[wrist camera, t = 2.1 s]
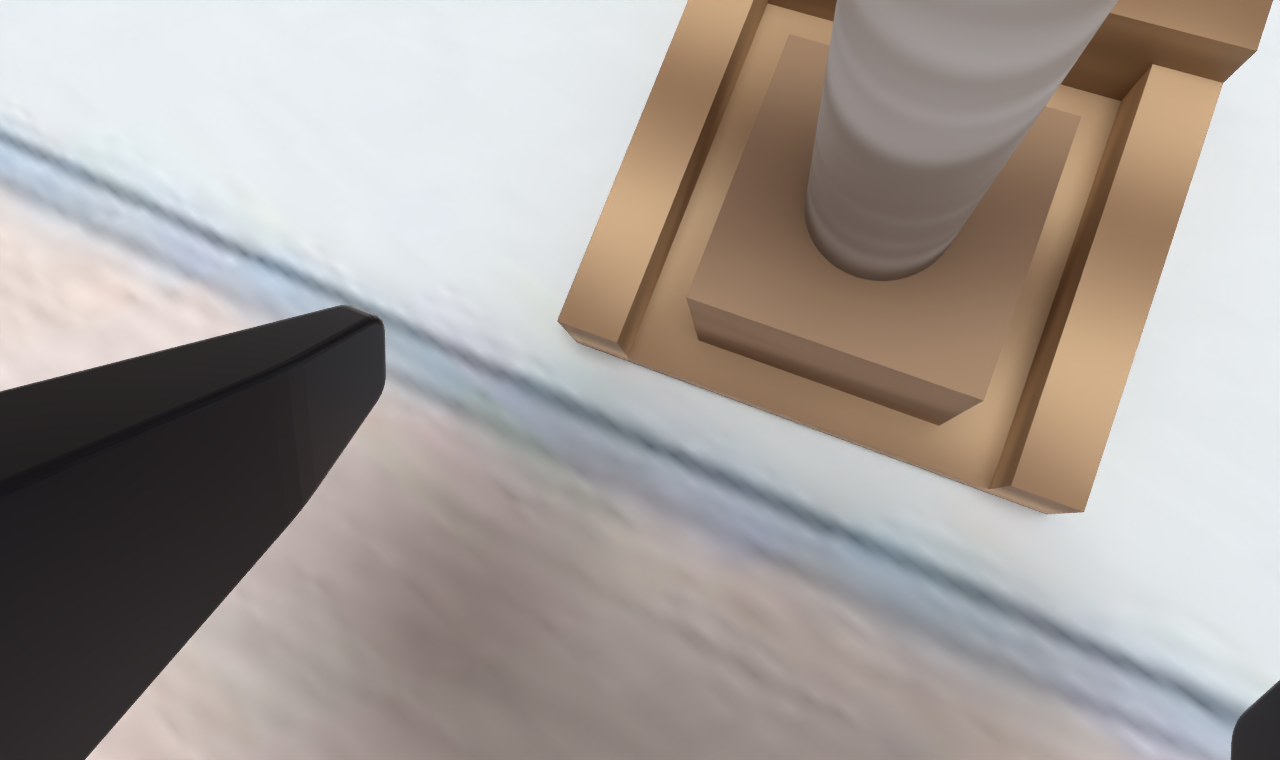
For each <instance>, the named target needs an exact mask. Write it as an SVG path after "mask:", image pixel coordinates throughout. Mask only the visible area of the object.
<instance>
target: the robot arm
mask: <svg viewBox="0 0 1280 760" xmlns="http://www.w3.org/2000/svg"><path fill="white" fill-rule="evenodd" d="M385 379H386V364H385V329H384V324H383V322H382V320H381V319H380V318H379V317H378V316H376V315H375V314H372V313H369V312H367V311H364V310H361V309H359V308H356V307H353V306H349V305H340V306H335V307H332V308H328V309H324V310H320V311H316V312H312V313H308V314H304V315H300V316H296V317H292V318H288V319H284V320H280V321H276V322H273V323H269V324H265V325H261V326H257V327H253V328H249V329H245V330H241V331H237V332H233V333H229V334H225V335H221V336H217V337H213V338H210V339H206V340H202V341H198V342H194V343H190V344H186V345H182V346H178V347H174V348H170V349H166V350H162V351H158V352H154V353H150V354H146V355H142V356H139V357H135V358H131V359H127V360H123V361H119V362H115V363H111V364H107V365H103V366H99V367H95V368H91V369H87V370H83V371H79V372H75V373H71V374H68V375H64V376H60V377H56V378H52V379H48V380H44V381H40V382H36V383H32V384H28V385H24V386H20V387H16V388H12V389H8V390H4V391H0V760H85V759H86V758H87V757H88V756H89V754H90V753H91V752H92V751H93V750H94V749H95V747H96V746H97V745H98V744H99V743H100V742H101V741H102V739H103V738H104V737H105V736H106V735H107V734H108V732H109V731H110V730H111V729H112V728H113V727H114V726H115V724H116V723H117V722H118V721H119V720H120V719H121V718H122V716H123V715H124V714H125V713H126V712H127V711H128V709H129V708H130V707H131V706H132V705H133V704H134V703H135V701H136V700H137V699H138V698H139V697H140V696H141V695H142V693H143V692H144V691H145V690H146V689H147V688H148V686H149V685H150V684H151V683H152V682H153V681H154V680H155V678H156V677H157V676H158V675H159V674H160V673H161V671H162V670H163V669H164V668H165V667H166V666H167V665H168V663H169V662H170V661H171V660H172V659H173V658H174V657H175V655H176V654H177V653H178V652H179V651H180V650H181V648H182V647H183V646H184V645H185V644H186V643H187V642H188V640H189V639H190V638H191V637H192V636H193V635H194V633H195V632H196V631H197V630H198V629H199V628H200V627H201V625H202V624H203V623H204V622H205V621H206V620H207V619H208V617H209V616H210V615H211V614H212V613H213V612H214V610H215V609H216V608H217V607H218V606H219V605H220V604H221V602H222V601H223V600H224V599H225V598H226V597H227V596H228V594H229V593H230V592H231V591H232V590H233V589H234V587H235V586H236V585H237V584H238V583H239V582H240V581H241V579H242V578H243V577H244V576H245V575H246V574H247V572H248V571H249V570H250V569H251V568H252V567H253V566H254V564H255V563H256V562H257V561H258V560H259V559H260V558H261V556H262V555H263V554H264V553H265V552H266V551H267V549H268V548H269V547H270V546H271V545H272V544H273V543H274V541H275V540H276V539H277V538H278V537H279V536H280V534H281V533H282V532H283V531H284V530H285V529H286V528H287V526H288V525H289V524H290V523H291V522H292V520H293V519H294V518H295V517H296V516H297V514H298V513H299V512H300V511H301V510H302V508H303V507H304V506H305V504H306V503H307V502H308V500H309V499H310V498H311V496H312V495H313V494H314V492H315V491H316V489H317V488H318V487H319V485H320V484H321V482H322V481H323V479H324V478H325V476H326V475H327V474H328V472H329V471H330V469H331V468H332V466H333V465H334V463H335V462H336V460H337V459H338V458H339V456H340V455H341V453H342V452H343V450H344V449H345V447H346V446H347V445H348V443H349V442H350V440H351V439H352V437H353V436H354V434H355V433H356V431H357V430H358V429H359V427H360V426H361V424H362V423H363V421H364V420H365V418H366V417H367V416H368V414H369V413H370V411H371V410H372V408H373V407H374V405H375V404H376V403H377V401H378V399H379V398H380V396H381V394H382V391H383V388H384V385H385ZM1231 760H1280V680H1279V681H1278V682H1277V683H1276V684H1275V685H1274V686H1273V687H1272V688H1270V689H1269V690H1268V691H1267V692H1266V693H1265V694H1264V695H1263V696H1261V697H1260V698H1259V699H1258V700H1257V701H1256V702H1255V703H1254V704H1253V705H1251V706H1250V707H1249V708H1248V709H1247V710H1246V711H1245V712H1244V713H1243V714H1242V715H1241V716H1240V718H1239V720H1238V721H1237V723H1236V725H1235V728H1234V731H1233V735H1232V742H1231Z"/></svg>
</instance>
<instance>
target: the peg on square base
mask: <svg viewBox="0 0 1280 760" xmlns="http://www.w3.org/2000/svg"><path fill="white" fill-rule="evenodd" d="M1117 1H1118V0H837V2H836V8H835V15H834V21H833V28H832V34H831V40H830V45H826V44H823V43H819V42H815V41H812V40H808V39H805V38H801V37H798V36H794V35H791V34H789V36H788V38H787V41H786V43H785V46H784V49H783V51H782V54H781V56H780V59H779V61H778V64H777V66H776V69H775V72H774V74H773V77H772V79H771V82H770V84H769V87H768V89H767V92H766V95H765V97H764V100H763V102H762V105H761V107H760V110H759V112H758V115H757V118H756V120H755V123H754V125H753V128H752V130H751V133H750V135H749V138H748V141H747V143H746V146H745V148H744V151H743V153H742V156H741V158H740V161H739V164H738V166H737V169H736V171H735V174H734V176H733V179H732V181H731V184H730V187H729V189H728V192H727V194H726V197H725V199H724V202H723V204H722V207H721V210H720V212H719V215H718V217H717V220H716V222H715V225H714V227H713V230H712V233H711V235H710V238H709V240H708V243H707V245H706V248H705V250H704V253H703V256H702V258H701V261H700V263H699V266H698V268H697V271H696V273H695V276H694V279H693V281H692V284H691V286H690V289H689V291H688V294H687V296H686V299H687V302H688V305H689V309H690V312H691V316H692V319H693V323H694V326H695V330H696V333H697V337H698V340H699V341H702V342H705V343H708V344H711V345H713V346H716V347H719V348H722V349H725V350H727V351H730V352H733V353H736V354H739V355H741V356H744V357H747V358H750V359H753V360H756V361H758V362H761V363H764V364H767V365H770V366H772V367H775V368H778V369H781V370H784V371H786V372H789V373H792V374H795V375H798V376H800V377H803V378H806V379H809V380H812V381H815V382H817V383H820V384H823V385H826V386H829V387H831V388H834V389H837V390H840V391H843V392H845V393H848V394H851V395H854V396H857V397H860V398H862V399H865V400H868V401H871V402H874V403H876V404H879V405H882V406H885V407H888V408H890V409H893V410H896V411H899V412H902V413H904V414H907V415H910V416H913V417H916V418H919V419H921V420H924V421H927V422H930V423H933V424H935V425H938V426H940V425H941V424H943V423H945V422H947V421H949V420H950V419H952V418H954V417H956V416H957V415H959V414H961V413H963V412H964V411H966V410H968V409H970V408H972V407H973V406H975V405H977V404H979V403H980V402H982V401H984V398H985V396H986V393H987V390H988V387H989V384H990V381H991V378H992V375H993V372H994V369H995V366H996V364H997V361H998V358H999V355H1000V352H1001V349H1002V346H1003V343H1004V340H1005V337H1006V334H1007V332H1008V329H1009V326H1010V323H1011V320H1012V317H1013V314H1014V311H1015V308H1016V305H1017V302H1018V300H1019V297H1020V294H1021V291H1022V288H1023V285H1024V282H1025V279H1026V276H1027V273H1028V270H1029V268H1030V265H1031V262H1032V259H1033V256H1034V253H1035V250H1036V247H1037V244H1038V241H1039V238H1040V236H1041V233H1042V230H1043V227H1044V224H1045V221H1046V218H1047V215H1048V212H1049V209H1050V206H1051V204H1052V201H1053V198H1054V195H1055V192H1056V189H1057V186H1058V183H1059V180H1060V177H1061V174H1062V171H1063V169H1064V166H1065V163H1066V160H1067V157H1068V154H1069V151H1070V148H1071V145H1072V142H1073V139H1074V137H1075V134H1076V131H1077V128H1078V125H1079V122H1080V119H1081V116H1078V115H1074V114H1071V113H1067V112H1064V111H1060V110H1057V109H1053V108H1050V107H1046V105H1047V103H1048V102H1049V100H1050V99H1051V97H1052V96H1053V94H1054V93H1055V91H1056V90H1057V89H1058V87H1059V86H1060V84H1061V83H1062V81H1063V80H1064V78H1065V77H1066V75H1067V74H1068V73H1069V71H1070V70H1071V68H1072V67H1073V65H1074V64H1075V62H1076V61H1077V59H1078V58H1079V57H1080V55H1081V54H1082V52H1083V51H1084V49H1085V48H1086V46H1087V45H1088V43H1089V42H1090V41H1091V39H1092V38H1093V36H1094V35H1095V33H1096V32H1097V30H1098V29H1099V28H1100V26H1101V25H1102V23H1103V22H1104V20H1105V19H1106V17H1107V16H1108V14H1109V13H1110V12H1111V10H1112V9H1113V7H1114V6H1115V4H1116V3H1117Z"/></svg>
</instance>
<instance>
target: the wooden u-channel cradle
mask: <svg viewBox="0 0 1280 760" xmlns="http://www.w3.org/2000/svg"><path fill="white" fill-rule="evenodd" d="M836 2H837V0H688V2H687V5H686V7H685V10H684V12H683V15H682V17H681V19H680V22H679V24H678V27H677V29H676V32H675V34H674V37H673V39H672V41H671V44H670V46H669V49H668V51H667V54H666V56H665V59H664V61H663V63H662V66H661V68H660V71H659V73H658V76H657V78H656V81H655V83H654V86H653V88H652V90H651V93H650V95H649V98H648V100H647V103H646V105H645V108H644V110H643V112H642V115H641V117H640V120H639V122H638V125H637V127H636V130H635V132H634V134H633V137H632V139H631V142H630V144H629V147H628V149H627V152H626V154H625V157H624V159H623V161H622V164H621V166H620V169H619V171H618V174H617V176H616V179H615V181H614V183H613V186H612V188H611V191H610V193H609V196H608V198H607V201H606V203H605V205H604V208H603V210H602V213H601V215H600V218H599V220H598V223H597V225H596V228H595V230H594V232H593V235H592V237H591V240H590V242H589V245H588V247H587V250H586V252H585V254H584V257H583V259H582V262H581V264H580V267H579V269H578V272H577V274H576V276H575V279H574V281H573V284H572V286H571V289H570V291H569V294H568V296H567V299H566V301H565V303H564V306H563V308H562V311H561V313H560V316H559V318H558V322H559V323H560V324H561V325H562V327H563V328H564V329H565V330H566V331H567V332H568V333H569V334H570V335H571V336H572V337H573V338H574V339H575V340H576V342H578V343H581V344H583V345H586V346H589V347H592V348H594V349H597V350H600V351H603V352H605V353H608V354H611V355H613V356H616V357H619V358H622V359H624V360H627V361H630V362H633V363H635V364H638V365H641V366H644V367H646V368H649V369H652V370H654V371H657V372H660V373H663V374H665V375H668V376H671V377H674V378H676V379H679V380H682V381H685V382H687V383H690V384H693V385H695V386H698V387H701V388H704V389H706V390H709V391H712V392H715V393H717V394H720V395H723V396H725V397H728V398H731V399H734V400H736V401H739V402H742V403H745V404H747V405H750V406H753V407H756V408H758V409H761V410H764V411H766V412H769V413H772V414H775V415H777V416H780V417H783V418H786V419H788V420H791V421H794V422H797V423H799V424H802V425H805V426H807V427H810V428H813V429H816V430H818V431H821V432H824V433H827V434H829V435H832V436H835V437H837V438H840V439H843V440H846V441H848V442H851V443H854V444H857V445H859V446H862V447H865V448H868V449H870V450H873V451H876V452H878V453H881V454H884V455H887V456H889V457H892V458H895V459H898V460H900V461H903V462H906V463H908V464H911V465H914V466H917V467H919V468H922V469H925V470H928V471H930V472H933V473H936V474H939V475H941V476H944V477H947V478H949V479H952V480H955V481H958V482H960V483H963V484H966V485H969V486H971V487H974V488H977V489H980V490H982V491H985V492H988V493H990V494H993V495H996V496H999V497H1001V498H1004V499H1007V500H1010V501H1012V502H1015V503H1018V504H1020V505H1023V506H1026V507H1029V508H1031V509H1034V510H1037V511H1040V512H1042V513H1045V514H1059V513H1077V512H1084V510H1085V507H1086V504H1087V501H1088V498H1089V495H1090V492H1091V488H1092V485H1093V482H1094V479H1095V476H1096V473H1097V470H1098V467H1099V464H1100V461H1101V458H1102V455H1103V451H1104V448H1105V445H1106V442H1107V439H1108V436H1109V433H1110V430H1111V427H1112V424H1113V421H1114V418H1115V415H1116V411H1117V408H1118V405H1119V402H1120V399H1121V396H1122V393H1123V390H1124V387H1125V384H1126V381H1127V378H1128V374H1129V371H1130V368H1131V365H1132V362H1133V359H1134V356H1135V353H1136V350H1137V347H1138V344H1139V341H1140V337H1141V334H1142V331H1143V328H1144V325H1145V322H1146V319H1147V316H1148V313H1149V310H1150V307H1151V304H1152V300H1153V297H1154V294H1155V291H1156V288H1157V285H1158V282H1159V279H1160V276H1161V273H1162V270H1163V267H1164V263H1165V260H1166V257H1167V254H1168V251H1169V248H1170V245H1171V242H1172V239H1173V236H1174V233H1175V230H1176V226H1177V223H1178V220H1179V217H1180V214H1181V211H1182V208H1183V205H1184V202H1185V199H1186V196H1187V193H1188V189H1189V186H1190V183H1191V180H1192V177H1193V174H1194V171H1195V168H1196V165H1197V162H1198V159H1199V156H1200V152H1201V149H1202V146H1203V143H1204V140H1205V137H1206V134H1207V131H1208V128H1209V125H1210V122H1211V119H1212V115H1213V112H1214V109H1215V106H1216V103H1217V100H1218V97H1219V94H1220V91H1221V88H1222V85H1223V83H1224V82H1225V81H1226V80H1227V79H1228V78H1229V77H1230V76H1231V75H1232V74H1233V73H1234V72H1235V71H1236V70H1237V69H1238V68H1239V67H1240V66H1241V65H1242V64H1243V63H1244V62H1246V61H1247V60H1248V59H1249V58H1250V57H1251V56H1252V55H1253V54H1254V53H1255V52H1256V51H1257V48H1258V45H1259V42H1260V39H1261V36H1262V33H1263V30H1264V27H1265V24H1266V20H1267V17H1268V14H1269V11H1270V8H1271V5H1272V2H1273V0H1118V1H1117V3H1116V4H1115V6H1114V7H1113V9H1112V10H1111V12H1110V13H1109V14H1108V16H1107V17H1106V19H1105V20H1104V22H1103V23H1102V25H1101V26H1100V28H1099V29H1098V30H1097V32H1096V33H1095V35H1094V36H1093V38H1092V39H1091V41H1090V42H1089V43H1088V45H1087V46H1086V48H1085V49H1084V51H1083V52H1082V54H1081V55H1080V57H1079V58H1078V59H1077V61H1076V62H1075V64H1074V65H1073V67H1072V68H1071V70H1070V71H1069V73H1068V74H1067V75H1066V77H1065V78H1064V80H1063V81H1062V83H1061V84H1060V86H1059V87H1058V89H1057V90H1056V91H1055V93H1054V94H1053V96H1052V97H1051V99H1050V100H1049V102H1048V103H1047V105H1046V107H1050V108H1053V109H1057V110H1060V111H1064V112H1067V113H1071V114H1074V115H1078V116H1081V119H1080V122H1079V125H1078V128H1077V131H1076V134H1075V137H1074V139H1073V142H1072V145H1071V148H1070V151H1069V154H1068V157H1067V160H1066V163H1065V166H1064V169H1063V171H1062V174H1061V177H1060V180H1059V183H1058V186H1057V189H1056V192H1055V195H1054V198H1053V201H1052V204H1051V206H1050V209H1049V212H1048V215H1047V218H1046V221H1045V224H1044V227H1043V230H1042V233H1041V236H1040V238H1039V241H1038V244H1037V247H1036V250H1035V253H1034V256H1033V259H1032V262H1031V265H1030V268H1029V270H1028V273H1027V276H1026V279H1025V282H1024V285H1023V288H1022V291H1021V294H1020V297H1019V300H1018V302H1017V305H1016V308H1015V311H1014V314H1013V317H1012V320H1011V323H1010V326H1009V329H1008V332H1007V334H1006V337H1005V340H1004V343H1003V346H1002V349H1001V352H1000V355H999V358H998V361H997V364H996V366H995V369H994V372H993V375H992V378H991V381H990V384H989V387H988V390H987V393H986V396H985V398H984V401H982V402H980V403H979V404H977V405H975V406H973V407H972V408H970V409H968V410H966V411H964V412H963V413H961V414H959V415H957V416H956V417H954V418H952V419H950V420H949V421H947V422H945V423H943V424H941V425H940V426H938V425H935V424H933V423H930V422H927V421H924V420H921V419H919V418H916V417H913V416H910V415H907V414H904V413H902V412H899V411H896V410H893V409H890V408H888V407H885V406H882V405H879V404H876V403H874V402H871V401H868V400H865V399H862V398H860V397H857V396H854V395H851V394H848V393H845V392H843V391H840V390H837V389H834V388H831V387H829V386H826V385H823V384H820V383H817V382H815V381H812V380H809V379H806V378H803V377H800V376H798V375H795V374H792V373H789V372H786V371H784V370H781V369H778V368H775V367H772V366H770V365H767V364H764V363H761V362H758V361H756V360H753V359H750V358H747V357H744V356H741V355H739V354H736V353H733V352H730V351H727V350H725V349H722V348H719V347H716V346H713V345H711V344H708V343H705V342H702V341H699V340H698V337H697V333H696V330H695V326H694V323H693V319H692V316H691V312H690V309H689V305H688V302H687V299H686V296H687V294H688V291H689V289H690V286H691V284H692V281H693V279H694V276H695V273H696V271H697V268H698V266H699V263H700V261H701V258H702V256H703V253H704V250H705V248H706V245H707V243H708V240H709V238H710V235H711V233H712V230H713V227H714V225H715V222H716V220H717V217H718V215H719V212H720V210H721V207H722V204H723V202H724V199H725V197H726V194H727V192H728V189H729V187H730V184H731V181H732V179H733V176H734V174H735V171H736V169H737V166H738V164H739V161H740V158H741V156H742V153H743V151H744V148H745V146H746V143H747V141H748V138H749V135H750V133H751V130H752V128H753V125H754V123H755V120H756V118H757V115H758V112H759V110H760V107H761V105H762V102H763V100H764V97H765V95H766V92H767V89H768V87H769V84H770V82H771V79H772V77H773V74H774V72H775V69H776V66H777V64H778V61H779V59H780V56H781V54H782V51H783V49H784V46H785V43H786V41H787V38H788V36H789V34H791V35H794V36H798V37H801V38H805V39H808V40H812V41H815V42H819V43H823V44H826V45H830V40H831V34H832V28H833V21H834V15H835V8H836Z"/></svg>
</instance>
